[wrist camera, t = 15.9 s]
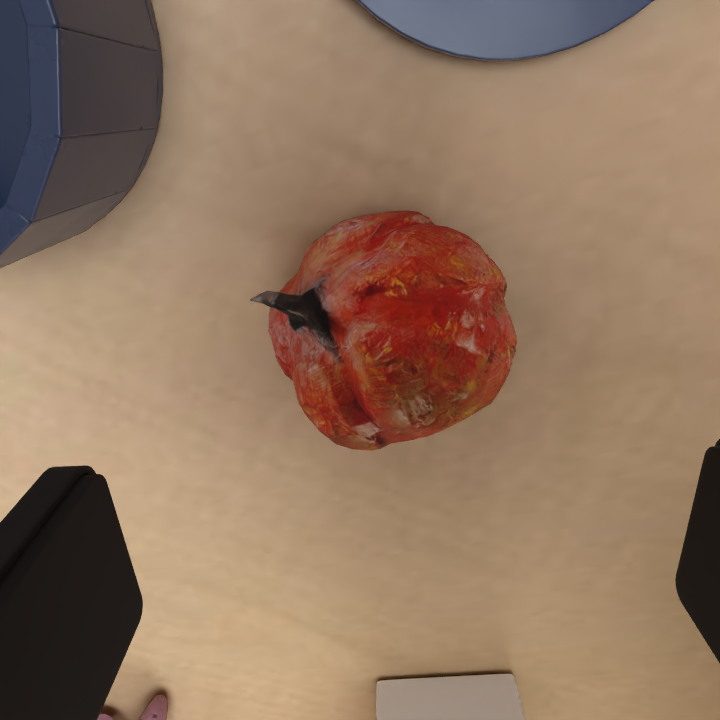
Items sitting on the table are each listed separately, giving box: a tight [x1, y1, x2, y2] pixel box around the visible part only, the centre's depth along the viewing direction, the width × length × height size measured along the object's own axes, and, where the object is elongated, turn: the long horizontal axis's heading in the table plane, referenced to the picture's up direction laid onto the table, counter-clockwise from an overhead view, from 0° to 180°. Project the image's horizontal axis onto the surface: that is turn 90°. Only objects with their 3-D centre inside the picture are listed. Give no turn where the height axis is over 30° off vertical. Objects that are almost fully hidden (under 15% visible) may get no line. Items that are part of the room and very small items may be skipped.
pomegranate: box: [250, 211, 517, 450], centre depth 18 cm, size 7×7×10 cm
